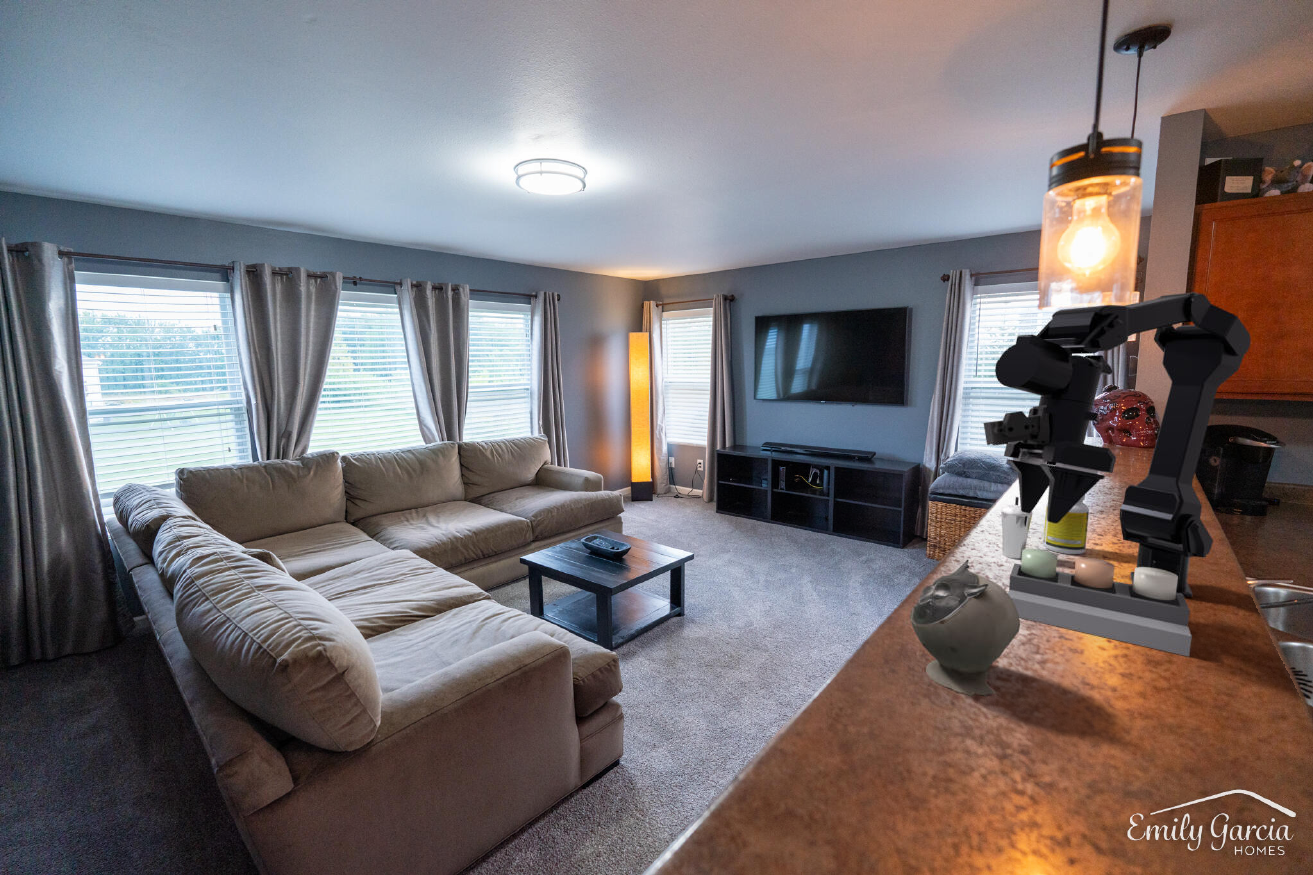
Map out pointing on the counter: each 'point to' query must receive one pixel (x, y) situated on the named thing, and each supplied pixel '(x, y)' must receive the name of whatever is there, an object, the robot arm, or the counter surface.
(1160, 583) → the button ivory
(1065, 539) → the pill bottle
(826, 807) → the counter surface
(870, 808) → the counter surface
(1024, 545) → the milkshake
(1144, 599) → the button panel
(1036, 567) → the button sage
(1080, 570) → the button terracotta
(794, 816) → the counter surface
